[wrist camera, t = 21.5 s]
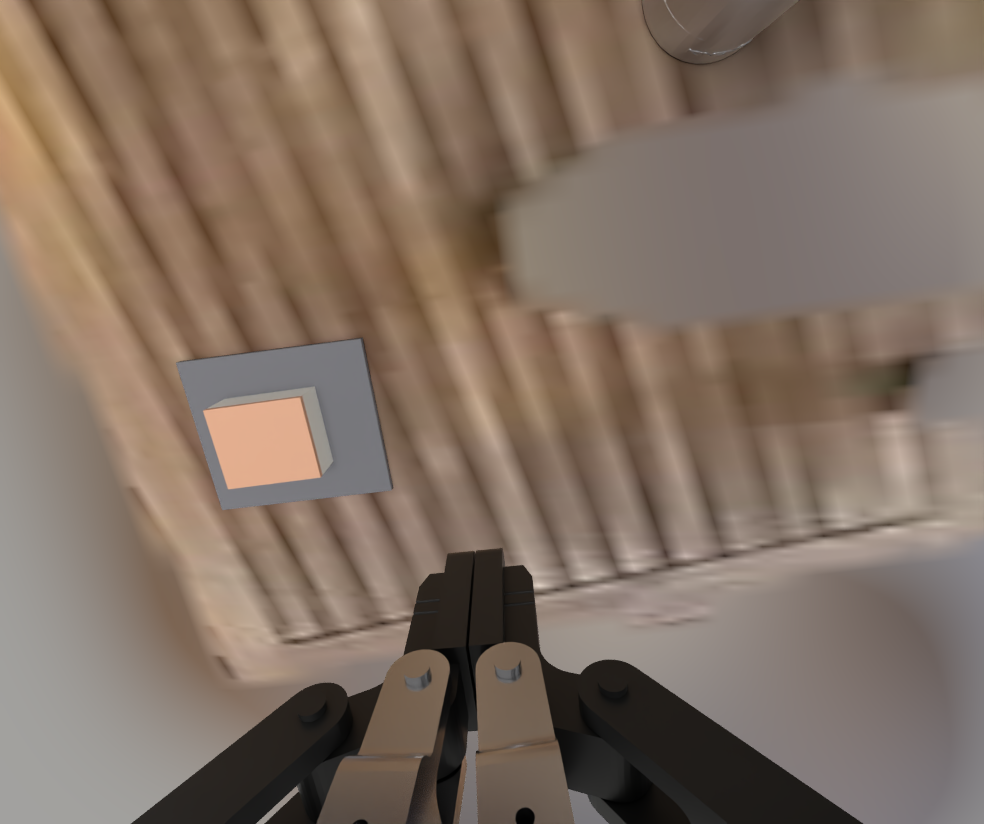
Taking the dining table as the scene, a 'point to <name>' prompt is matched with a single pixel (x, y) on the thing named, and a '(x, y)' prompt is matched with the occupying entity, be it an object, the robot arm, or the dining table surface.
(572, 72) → the dining table surface
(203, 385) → the mat
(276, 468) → the white block copper side
